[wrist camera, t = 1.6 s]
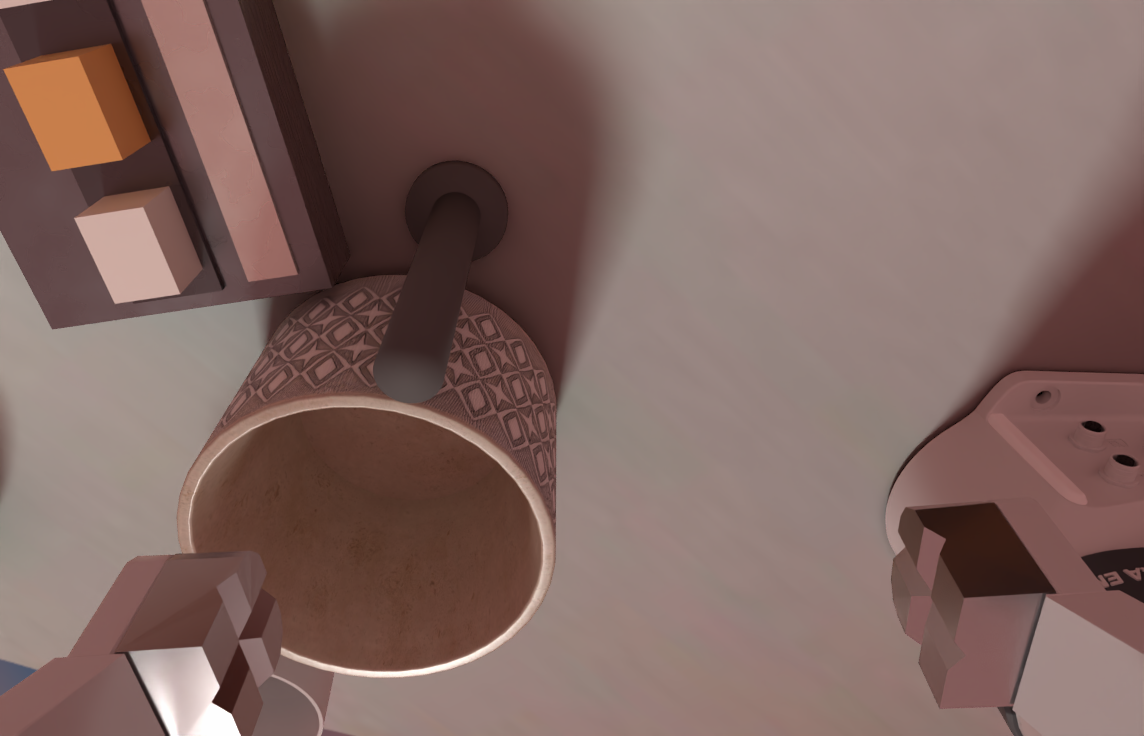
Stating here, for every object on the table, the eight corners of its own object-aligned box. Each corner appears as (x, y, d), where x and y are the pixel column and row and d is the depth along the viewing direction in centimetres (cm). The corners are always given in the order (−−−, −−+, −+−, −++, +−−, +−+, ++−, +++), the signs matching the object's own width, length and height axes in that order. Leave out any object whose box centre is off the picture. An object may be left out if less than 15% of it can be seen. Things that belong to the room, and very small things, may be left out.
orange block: (112, 43, 34) (78, 56, 32) (151, 140, 36) (122, 159, 34) (42, 55, 34) (3, 69, 32) (85, 151, 36) (51, 171, 34)
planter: (255, 481, 51) (172, 648, 40) (276, 232, 43) (179, 355, 32) (521, 531, 53) (512, 702, 42) (589, 302, 45) (598, 440, 34)
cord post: (497, 153, 41) (465, 297, 27) (516, 248, 43) (495, 424, 30) (396, 169, 41) (314, 318, 28) (421, 262, 44) (357, 442, 30)
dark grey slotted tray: (207, -209, 34) (163, -219, 30) (350, 254, 44) (330, 290, 40) (-123, -147, 34) (-206, -149, 31) (91, 293, 44) (49, 332, 41)
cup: (336, 530, 53) (293, 658, 44) (375, 620, 57) (342, 754, 48) (213, 549, 54) (147, 679, 45) (260, 637, 58) (208, 772, 49)
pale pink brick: (169, 185, 37) (143, 207, 35) (203, 268, 39) (180, 294, 37) (105, 195, 37) (74, 217, 35) (142, 277, 39) (114, 303, 37)
